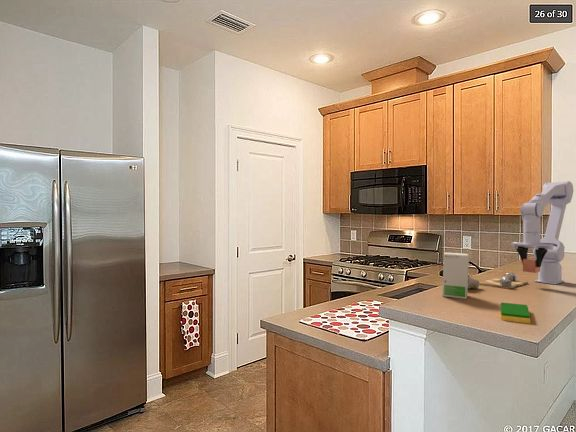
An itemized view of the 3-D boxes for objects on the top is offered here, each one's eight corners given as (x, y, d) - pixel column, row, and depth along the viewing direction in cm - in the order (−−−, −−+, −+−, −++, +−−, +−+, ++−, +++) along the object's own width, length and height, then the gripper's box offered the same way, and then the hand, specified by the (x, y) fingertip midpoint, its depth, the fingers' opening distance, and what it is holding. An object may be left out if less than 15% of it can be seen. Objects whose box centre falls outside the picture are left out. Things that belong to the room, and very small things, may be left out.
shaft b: (499, 283, 155) (499, 276, 155) (509, 284, 154) (509, 276, 154) (501, 285, 151) (501, 277, 151) (511, 286, 150) (511, 278, 150)
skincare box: (442, 296, 137) (442, 253, 137) (444, 293, 143) (444, 251, 143) (467, 299, 133) (467, 255, 133) (468, 295, 139) (468, 252, 139)
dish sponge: (500, 321, 109) (500, 313, 109) (500, 309, 121) (500, 302, 121) (530, 324, 105) (530, 316, 105) (527, 312, 117) (527, 304, 117)
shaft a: (508, 279, 165) (508, 271, 165) (516, 280, 162) (516, 272, 162) (502, 280, 162) (502, 272, 162) (511, 281, 160) (511, 274, 160)
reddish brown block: (527, 270, 156) (527, 258, 156) (540, 271, 152) (540, 259, 152) (522, 271, 153) (522, 259, 153) (535, 272, 150) (535, 260, 150)
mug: (485, 290, 148) (477, 269, 145) (462, 301, 149) (453, 280, 146) (475, 282, 155) (467, 262, 152) (453, 292, 156) (445, 272, 153)
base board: (498, 279, 169) (498, 277, 169) (527, 283, 159) (527, 281, 159) (478, 284, 159) (478, 282, 159) (508, 289, 149) (508, 286, 149)
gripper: (508, 232, 156) (508, 265, 157) (548, 233, 144) (548, 269, 145) (515, 231, 160) (516, 263, 161) (555, 232, 149) (555, 267, 149)
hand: (531, 266), depth 153 cm, fingers closed on reddish brown block, 4 cm apart
